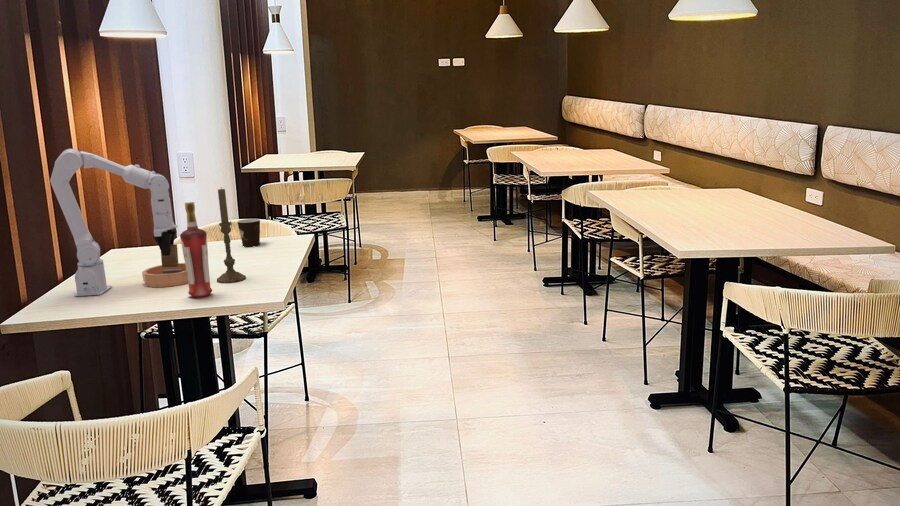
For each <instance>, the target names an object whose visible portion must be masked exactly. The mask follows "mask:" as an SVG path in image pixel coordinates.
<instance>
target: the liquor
mask: <svg viewBox="0 0 900 506" xmlns="http://www.w3.org/2000/svg"><path fill="white" fill-rule="evenodd" d="M184 209H185V211H186V212H185V213H186V230H183V231H182V232H181V233H180V234H179V236H180V237H179V238H180V242H181V243H180V245H181V248H182V254H183V260H184V263H185V265H186V271H187V277H188V283H187V284H188V289H189V290H188V293H187V294H188V295H189V296H191V298H193V299H201V298H205V297H209V295H210V294H211V293H212V292H213V289H212V288H211V280H210V267H209V252H208V251H209V249H208V240H207V239H208V236H207V232H206V231H205V230H203V229H201V228H199V227H198V226H199V225H198V221H197V217H196V214H195V212H196V206H195V202H194V201H188V202H185V203H184Z"/></svg>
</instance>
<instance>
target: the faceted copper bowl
mask: <svg viewBox="0 0 900 506" xmlns="http://www.w3.org/2000/svg"><path fill="white" fill-rule="evenodd" d="M141 272H142V281H143V282H144V285H145V286H146V287H148V288H169V287H170V288H171V287H178V286H182V285H186V284H188V277H187V271H186V265H185V262H178V266H177V267H162V264H159V265H156V266H152V267H148V268H146V269H144V270H143V271H141Z"/></svg>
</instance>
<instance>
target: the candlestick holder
mask: <svg viewBox="0 0 900 506" xmlns="http://www.w3.org/2000/svg"><path fill="white" fill-rule="evenodd" d="M217 195H218V204H219V205H218V206H219V214H220V221H221V222H219V223H218V226H219V227H220V232H221V233H222V234H223V243H224V247H225V252H226V257H225V258H224V260H223V263H224V266H225V267H226V271H225V272H224V273H222V274H221V275H220V276H219V277H217V278H216V281H217V283H220V284H231V283H232V284H233V283H239V282H242V281H244V280H246V279H247V277H246V274H243V273H241V272H239V271H236V270H235V269H234V265H235V263H236V259H235V258H233V256H232V254H231V251H232V250H231V249H232V248H231V237H230V235H229V234H230V233H231V232H232V228H231V225H232V222H231V221H229V215H228V206H227V198H226V197H227V196H226V189H225V188H222V187H220V189H219V188H218V189H217Z"/></svg>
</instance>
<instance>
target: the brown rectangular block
mask: <svg viewBox="0 0 900 506" xmlns="http://www.w3.org/2000/svg"><path fill="white" fill-rule="evenodd" d="M178 252H179V251H178V244H177V243H176V244H175V243H174V244H170V255H167V256H163V255H162V253H161V252H160V257H161V258H160V259H161V265H162V267H177V266H178V263H179V255H178V254H179V253H178Z"/></svg>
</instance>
